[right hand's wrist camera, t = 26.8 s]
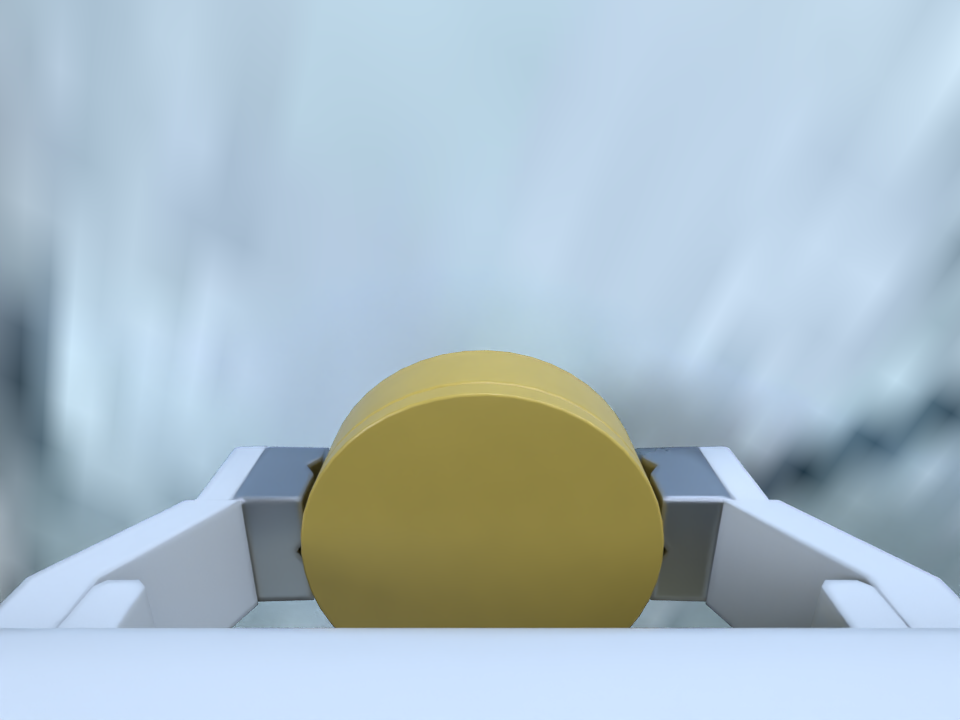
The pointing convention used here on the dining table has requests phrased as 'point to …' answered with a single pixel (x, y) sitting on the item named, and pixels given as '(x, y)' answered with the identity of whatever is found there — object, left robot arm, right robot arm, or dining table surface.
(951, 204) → the dining table surface
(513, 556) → the lid
